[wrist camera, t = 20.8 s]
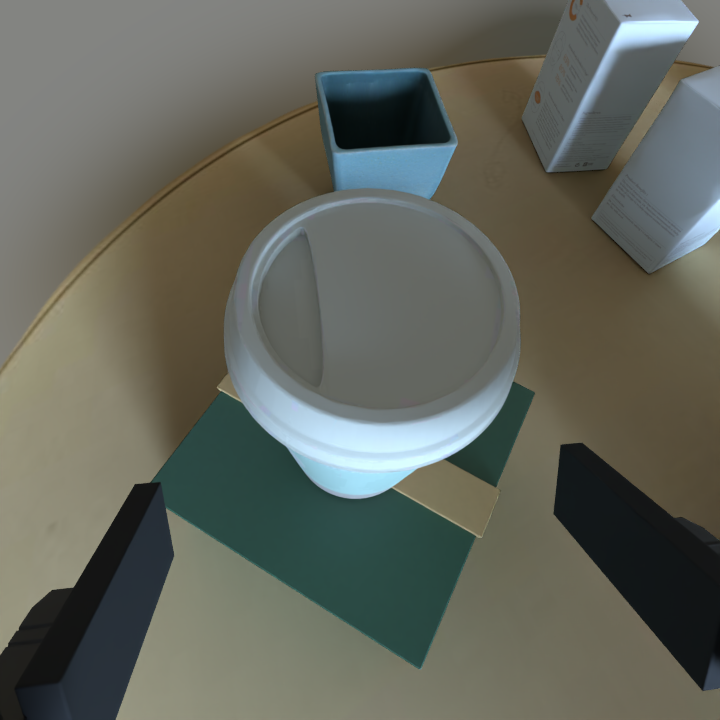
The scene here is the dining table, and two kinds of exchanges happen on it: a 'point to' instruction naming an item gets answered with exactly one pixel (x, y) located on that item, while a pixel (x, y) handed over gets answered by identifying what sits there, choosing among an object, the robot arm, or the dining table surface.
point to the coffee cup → (372, 335)
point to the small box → (601, 77)
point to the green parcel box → (343, 519)
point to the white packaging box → (670, 179)
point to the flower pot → (384, 129)
